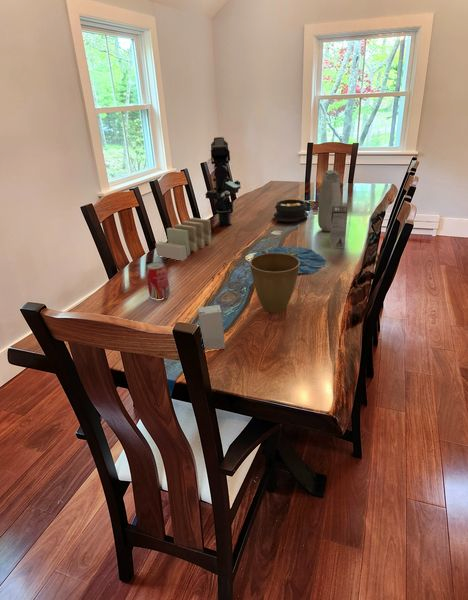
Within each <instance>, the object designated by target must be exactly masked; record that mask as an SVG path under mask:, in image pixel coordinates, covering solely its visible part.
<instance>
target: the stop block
mask: <svg viewBox="0 0 468 600" xmlns="http://www.w3.org/2000/svg"><path fill="white" fill-rule="evenodd" d="M155 251H156V256H157V255H158V256H162V257H166V258H171V259H176V260H181V261H183V260H185V259H187V260H188V256H187V255H186V246H183V245H178V244H172V243H168V242H165V241H157V242H156V243H155ZM166 258H165V259H166ZM171 259H170V260H171ZM176 260H175V261H176ZM181 261H180V262H181ZM185 261H186V260H185ZM183 262H184V261H183Z"/></svg>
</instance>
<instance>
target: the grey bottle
mask: <svg viewBox="0 0 468 600" xmlns="http://www.w3.org/2000/svg"><path fill="white" fill-rule="evenodd" d="M317 205H318V206H317V207H318V208H317V209H318V210H317V211H318V213H317V224H318V227H319V228H320V229H321V230H322V231H324V232H330V231H331V214H332V206H341V205H342V193H341V185H340V175H339V172H338V171H337V170H333V169H329V170H327V171H325V172H324V174H323V175H322V182H321V187H320V191H319V195H318V204H317Z"/></svg>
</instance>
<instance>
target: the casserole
mask: <svg viewBox="0 0 468 600" xmlns="http://www.w3.org/2000/svg"><path fill="white" fill-rule="evenodd" d="M274 208H275V209H276V212H274V213H273V217H274V218H275V220H276V221H279V222H284V223H285V222H286V223H287V222H288V223H289V222H290V223H292V222H298V221H300V220H302V219H305V218H307V217H308V216H309V213H308V212H307V211H306V210H307V208H308V205H307V204H306V202H305V201H304V200H301V199H284V200H279V201H277V202H276V205H275V206H274Z"/></svg>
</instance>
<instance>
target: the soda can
mask: <svg viewBox="0 0 468 600" xmlns="http://www.w3.org/2000/svg"><path fill="white" fill-rule="evenodd" d="M145 277H146V283H147V290H148V293H149V298H150V297H152V298H155V299H162V298H166V297H167V298H169V297H170V295H171V294H170V293H171V292H170V291H171V290H170V283H169V277H168V271H167V268H166V266H165V264H164V262H160V261H155V262H150V263H148V264H147V265H146V270H145ZM167 298H166V299H167Z"/></svg>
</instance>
